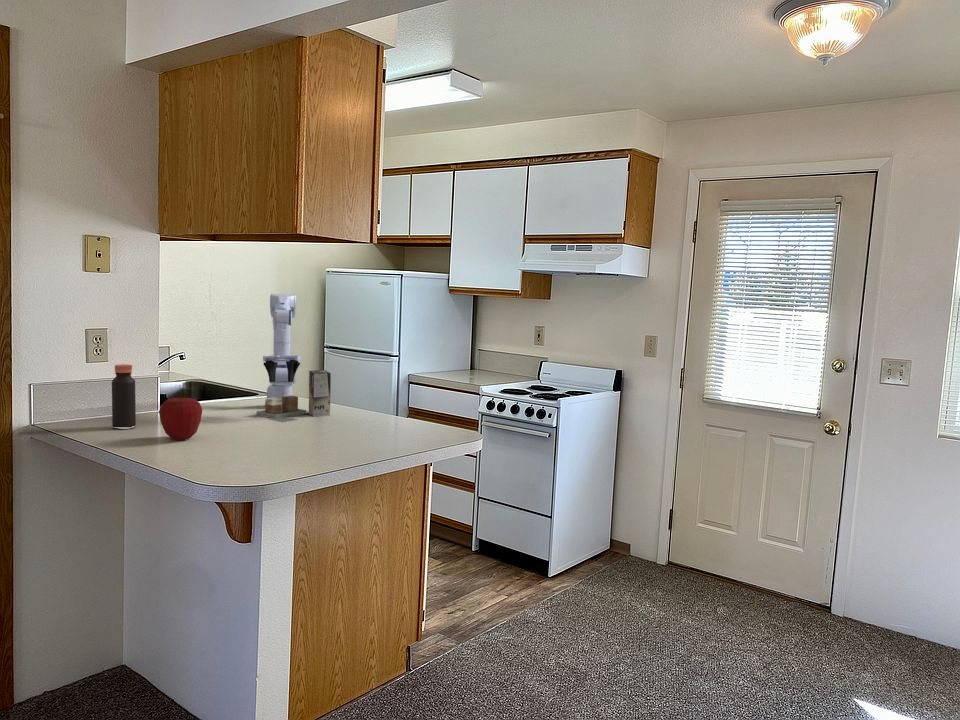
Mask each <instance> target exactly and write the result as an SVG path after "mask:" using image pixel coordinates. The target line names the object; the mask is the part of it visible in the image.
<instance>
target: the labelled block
mask: <svg viewBox="0 0 960 720" xmlns="http://www.w3.org/2000/svg"><path fill="white" fill-rule="evenodd" d="M264 401H265V402H264V407H265V408H264V410H265V413H270V414H282V399H280V398H275V397H274V398H267V397H266V398H265V399H264Z"/></svg>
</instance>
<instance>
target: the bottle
mask: <svg viewBox="0 0 960 720" xmlns="http://www.w3.org/2000/svg"><path fill="white" fill-rule="evenodd" d="M132 372H133V366H132V364H126V363H125V364H115V365H114V374H115V377H114V378H113V379H112V380H111V427H112V426H113V427H132V426H135V425H136V426H137V424H136V423H137V417H136V414H137V412H136V379H134V378H133V377H132Z"/></svg>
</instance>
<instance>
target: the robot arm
mask: <svg viewBox="0 0 960 720" xmlns="http://www.w3.org/2000/svg"><path fill="white" fill-rule="evenodd" d="M269 310H270V313H269V314H270V316H271V318H272V326H273V355H263V356H262V362H263V367H265V370H266V372H267V374H268V375H267V376H268V382H269V384H270V385H268V386H267V389H266V398H274V397H275V398H280V399H282V396H293V384H295V383H296V373H297V371H298V368H299V366H300V365H301V361H302V356H301V355H293V354H292V355H291V326H292V324H293V319H294V318H295V317H296V313H297V312H296V311H297V295H296V294H282V293H281V294H280V293H279V294H277V293H276V294H275V293H271V294H270V296H269Z"/></svg>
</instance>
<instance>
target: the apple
mask: <svg viewBox="0 0 960 720" xmlns="http://www.w3.org/2000/svg"><path fill="white" fill-rule="evenodd" d="M158 414H159V419H160V424H161V425H162V429H163V430H164V433H165V434H166V435H167V437H169V438H171V440H173V439H175V441H185V440H184V439H188V440H190V439H191V438H192V437H193V436H194V435H196V434H197V432H198V428H199V427H200V423H201V421H202V416H203V407H202V405H201V403H200V402H199V401H198V400H197V399H196V398H193V397H182V395H180V397H173V398H168V399H166V400H165V401H164V402H163V403H162V404H161V405H160V408H159V411H158ZM189 438H190V439H189Z"/></svg>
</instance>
